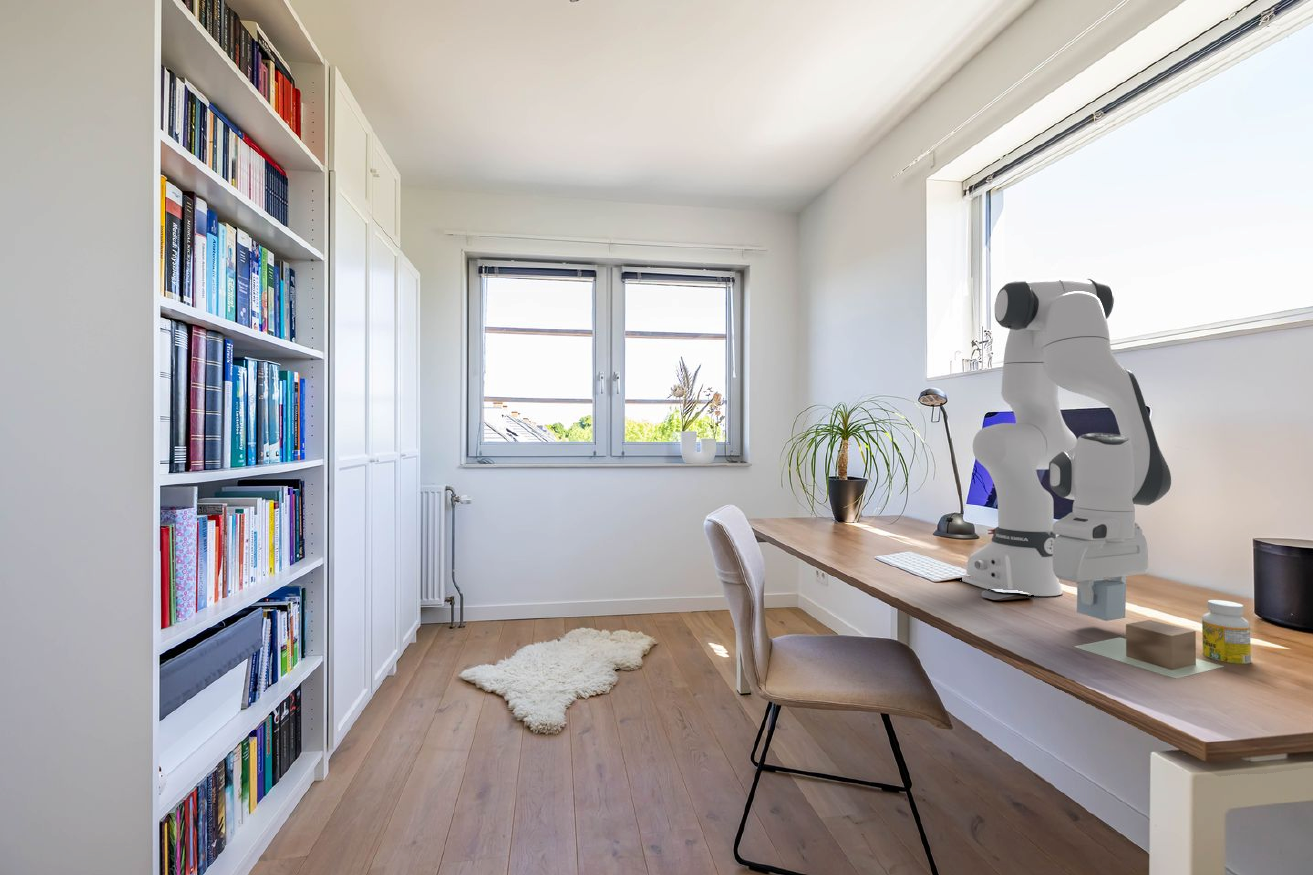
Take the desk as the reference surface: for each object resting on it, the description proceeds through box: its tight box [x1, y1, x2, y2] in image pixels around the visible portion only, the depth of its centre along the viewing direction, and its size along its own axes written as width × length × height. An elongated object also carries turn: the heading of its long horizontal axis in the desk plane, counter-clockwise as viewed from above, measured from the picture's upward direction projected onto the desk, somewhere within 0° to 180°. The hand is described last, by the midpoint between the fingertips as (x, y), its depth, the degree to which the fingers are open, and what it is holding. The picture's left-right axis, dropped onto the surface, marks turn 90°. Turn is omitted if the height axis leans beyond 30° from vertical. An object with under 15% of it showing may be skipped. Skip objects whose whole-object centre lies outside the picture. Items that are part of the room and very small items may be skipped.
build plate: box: [1073, 637, 1225, 680], centre depth 92 cm, size 14×12×1 cm
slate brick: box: [1076, 578, 1127, 622], centre depth 105 cm, size 5×5×6 cm
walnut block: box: [1125, 619, 1197, 670], centre depth 90 cm, size 6×6×5 cm
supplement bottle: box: [1201, 599, 1252, 665], centre depth 91 cm, size 5×5×10 cm
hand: (1101, 601), depth 105 cm, fingers closed on slate brick, 5 cm apart
